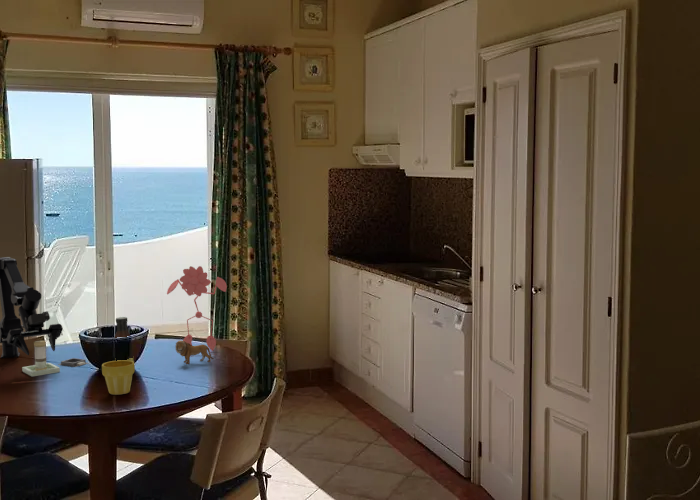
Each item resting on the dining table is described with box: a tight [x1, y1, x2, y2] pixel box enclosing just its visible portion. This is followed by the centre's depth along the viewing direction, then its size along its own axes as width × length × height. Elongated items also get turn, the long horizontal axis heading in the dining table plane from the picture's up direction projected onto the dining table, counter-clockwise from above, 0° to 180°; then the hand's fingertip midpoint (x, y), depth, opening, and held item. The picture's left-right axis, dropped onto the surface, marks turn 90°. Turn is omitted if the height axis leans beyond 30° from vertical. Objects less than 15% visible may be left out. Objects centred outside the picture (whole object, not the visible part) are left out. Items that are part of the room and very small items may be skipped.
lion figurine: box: [175, 340, 215, 365], centre depth 308 cm, size 15×5×9 cm, turn 114°
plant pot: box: [101, 360, 136, 396], centre depth 267 cm, size 10×10×10 cm
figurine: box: [166, 265, 228, 355], centre depth 324 cm, size 15×26×35 cm, turn 80°
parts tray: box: [21, 362, 61, 377], centre depth 293 cm, size 10×10×2 cm
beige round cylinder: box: [33, 340, 47, 371], centre depth 293 cm, size 4×4×11 cm
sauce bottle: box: [113, 316, 135, 363], centre depth 294 cm, size 7×6×20 cm
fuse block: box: [57, 357, 89, 368], centre depth 305 cm, size 9×7×2 cm
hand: (41, 352), depth 292 cm, fingers open, 9 cm apart
